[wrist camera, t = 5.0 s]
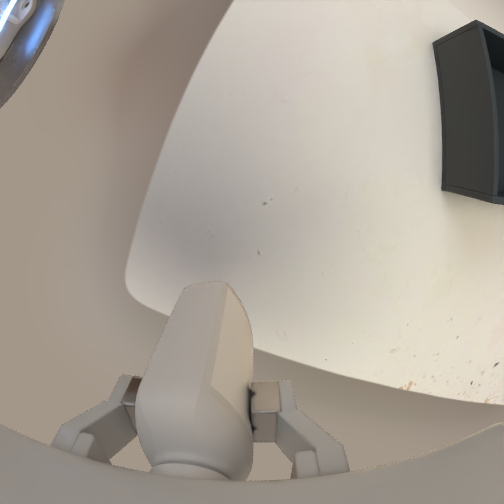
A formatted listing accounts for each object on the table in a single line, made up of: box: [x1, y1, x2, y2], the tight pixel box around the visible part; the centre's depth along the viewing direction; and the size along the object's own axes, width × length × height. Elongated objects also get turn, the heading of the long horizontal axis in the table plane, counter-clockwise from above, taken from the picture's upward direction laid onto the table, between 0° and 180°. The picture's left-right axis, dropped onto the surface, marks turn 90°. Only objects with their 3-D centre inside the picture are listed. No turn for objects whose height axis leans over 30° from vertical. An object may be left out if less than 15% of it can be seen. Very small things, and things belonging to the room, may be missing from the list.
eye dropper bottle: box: [135, 281, 253, 481], centre depth 9 cm, size 4×6×12 cm
